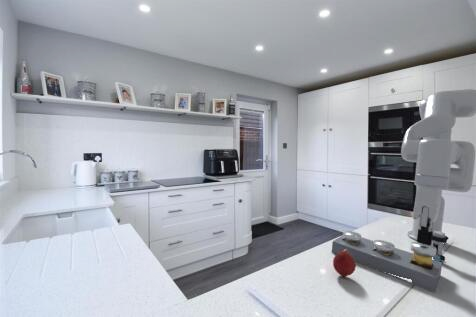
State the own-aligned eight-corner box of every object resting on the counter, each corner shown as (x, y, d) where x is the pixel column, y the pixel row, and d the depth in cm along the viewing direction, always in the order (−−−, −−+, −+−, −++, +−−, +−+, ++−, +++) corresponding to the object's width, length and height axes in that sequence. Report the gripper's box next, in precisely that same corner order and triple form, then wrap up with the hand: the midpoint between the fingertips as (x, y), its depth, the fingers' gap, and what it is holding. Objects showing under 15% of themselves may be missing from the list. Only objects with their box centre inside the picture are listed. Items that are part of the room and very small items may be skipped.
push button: (453, 267, 75) (456, 238, 75) (436, 266, 76) (439, 236, 75) (436, 257, 82) (440, 230, 81) (421, 256, 82) (424, 229, 82)
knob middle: (375, 255, 80) (376, 238, 79) (394, 262, 76) (396, 244, 75) (369, 260, 76) (371, 242, 75) (390, 268, 72) (392, 249, 71)
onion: (344, 284, 62) (347, 256, 62) (327, 273, 68) (329, 246, 67) (358, 279, 65) (361, 252, 65) (341, 269, 70) (343, 243, 70)
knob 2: (411, 258, 72) (413, 240, 72) (435, 266, 68) (437, 246, 68) (407, 264, 68) (409, 244, 68) (432, 273, 64) (435, 252, 64)
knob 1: (345, 245, 87) (347, 229, 87) (362, 250, 83) (363, 234, 82) (339, 249, 83) (340, 233, 83) (356, 255, 79) (357, 238, 79)
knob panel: (346, 242, 90) (347, 232, 90) (440, 275, 70) (442, 262, 70) (331, 252, 81) (332, 241, 81) (434, 292, 61) (436, 278, 61)
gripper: (419, 178, 74) (413, 233, 76) (409, 181, 64) (402, 245, 65) (450, 182, 69) (443, 241, 70) (445, 186, 59) (437, 255, 60)
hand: (424, 243), depth 68 cm, fingers closed
